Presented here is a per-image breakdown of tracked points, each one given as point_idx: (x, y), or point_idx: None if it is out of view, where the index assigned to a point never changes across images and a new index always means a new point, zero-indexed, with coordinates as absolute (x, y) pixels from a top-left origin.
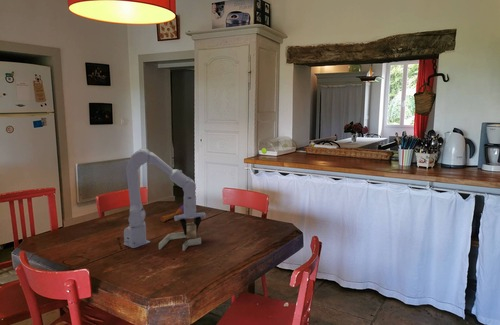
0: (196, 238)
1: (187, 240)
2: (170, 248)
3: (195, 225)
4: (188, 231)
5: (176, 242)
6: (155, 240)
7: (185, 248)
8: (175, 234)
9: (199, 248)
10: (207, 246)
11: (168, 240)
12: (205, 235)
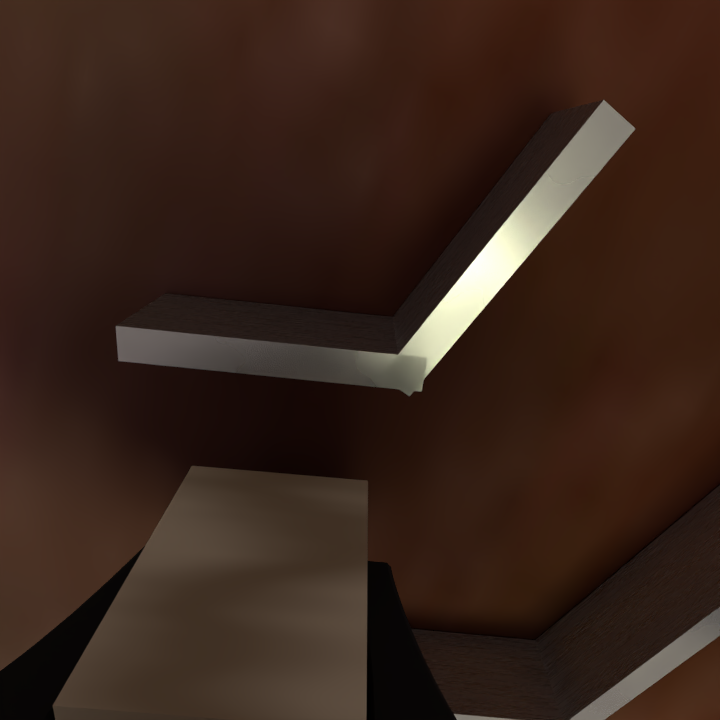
0: (215, 356)
1: (426, 332)
2: (694, 347)
3: (83, 692)
4: (330, 579)
5: (501, 526)
6: (704, 691)
7: (510, 172)
8: (473, 698)
9: (251, 93)
10: (80, 120)
11: (587, 612)
12: (31, 583)
